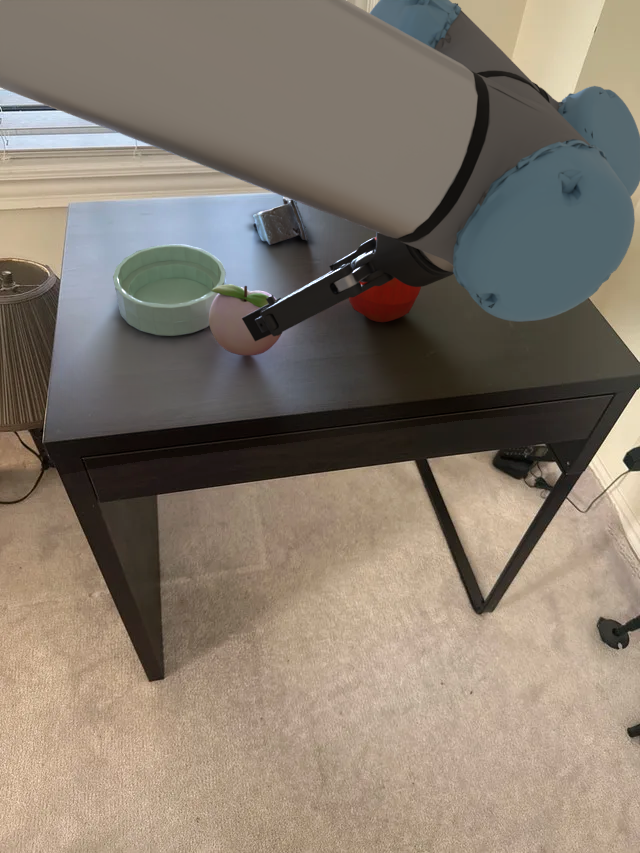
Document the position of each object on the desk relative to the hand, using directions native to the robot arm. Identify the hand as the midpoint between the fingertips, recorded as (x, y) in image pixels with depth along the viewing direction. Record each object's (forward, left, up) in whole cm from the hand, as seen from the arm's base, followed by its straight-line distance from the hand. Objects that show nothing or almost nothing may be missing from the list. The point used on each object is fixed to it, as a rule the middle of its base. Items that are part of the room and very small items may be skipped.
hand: (296, 300), depth 69 cm
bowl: (-11, +19, -12) cm, 25 cm away
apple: (+16, +11, -13) cm, 23 cm away
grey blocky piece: (+8, +35, -13) cm, 38 cm away
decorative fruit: (-4, +7, -13) cm, 15 cm away
